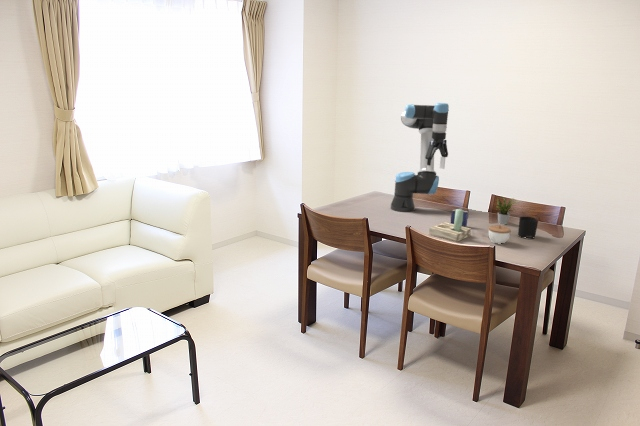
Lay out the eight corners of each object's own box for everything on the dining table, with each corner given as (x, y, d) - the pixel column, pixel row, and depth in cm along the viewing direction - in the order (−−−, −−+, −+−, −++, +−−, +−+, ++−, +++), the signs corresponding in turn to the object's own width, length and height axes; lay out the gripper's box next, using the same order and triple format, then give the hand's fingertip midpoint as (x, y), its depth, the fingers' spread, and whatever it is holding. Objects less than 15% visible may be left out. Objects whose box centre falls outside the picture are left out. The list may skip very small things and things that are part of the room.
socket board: (444, 229, 287) (445, 222, 286) (470, 235, 276) (471, 228, 275) (429, 234, 276) (429, 227, 275) (455, 242, 265) (456, 234, 264)
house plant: (518, 222, 305) (522, 195, 301) (516, 228, 293) (520, 200, 288) (493, 218, 311) (497, 192, 306) (490, 224, 299) (494, 197, 294)
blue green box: (466, 226, 294) (468, 208, 291) (466, 227, 291) (468, 209, 289) (450, 224, 297) (452, 206, 294) (450, 225, 294) (451, 207, 291)
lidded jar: (483, 239, 272) (486, 222, 269) (503, 239, 273) (505, 222, 270) (492, 245, 262) (494, 228, 259) (512, 245, 263) (514, 228, 260)
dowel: (455, 233, 276) (458, 208, 272) (462, 235, 273) (464, 210, 269) (451, 235, 273) (454, 209, 269) (458, 237, 270) (461, 211, 267)
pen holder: (514, 236, 278) (516, 218, 276) (521, 232, 285) (523, 215, 282) (531, 240, 272) (534, 222, 270) (538, 236, 279) (541, 219, 276)
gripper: (433, 133, 271) (429, 173, 277) (456, 131, 288) (452, 168, 294) (420, 132, 276) (417, 171, 281) (444, 129, 293) (441, 166, 299)
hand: (435, 169), depth 288 cm, fingers open, 13 cm apart
